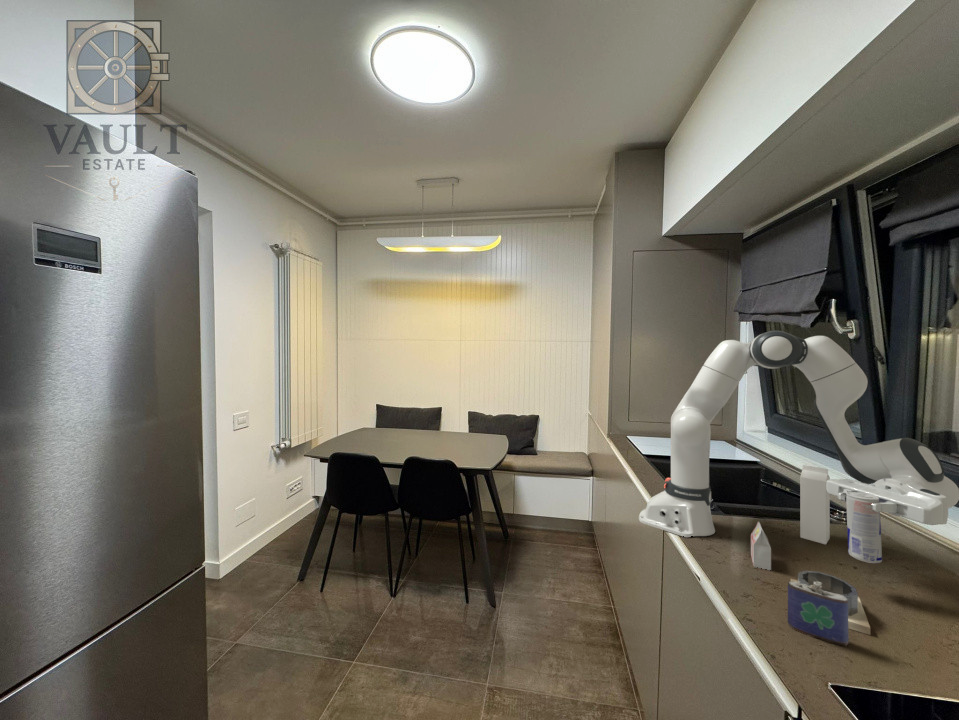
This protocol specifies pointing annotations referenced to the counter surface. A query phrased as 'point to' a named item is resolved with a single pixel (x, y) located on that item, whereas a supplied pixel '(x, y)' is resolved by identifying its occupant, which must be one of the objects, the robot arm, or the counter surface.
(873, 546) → the beverage can
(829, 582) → the collar stand
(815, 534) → the milk
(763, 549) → the small drink carton
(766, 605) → the counter surface
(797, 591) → the flask
